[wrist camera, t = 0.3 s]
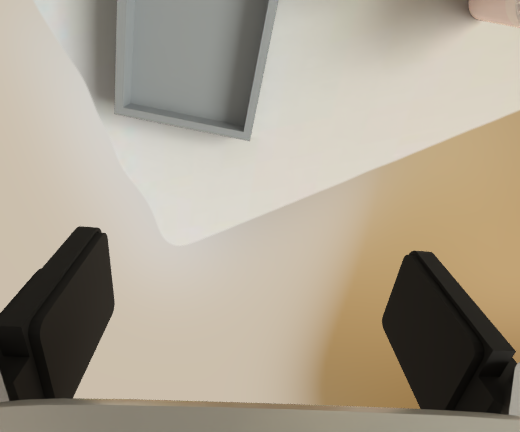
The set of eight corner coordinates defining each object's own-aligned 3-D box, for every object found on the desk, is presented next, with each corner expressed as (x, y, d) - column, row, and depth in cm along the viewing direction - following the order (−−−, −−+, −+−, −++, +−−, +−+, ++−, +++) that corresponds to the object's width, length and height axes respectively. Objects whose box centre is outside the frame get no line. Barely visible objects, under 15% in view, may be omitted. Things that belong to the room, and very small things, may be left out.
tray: (133, -124, 29) (120, -142, 26) (291, -78, 31) (296, -90, 28) (125, 107, 38) (114, 114, 35) (249, 132, 39) (249, 141, 36)
